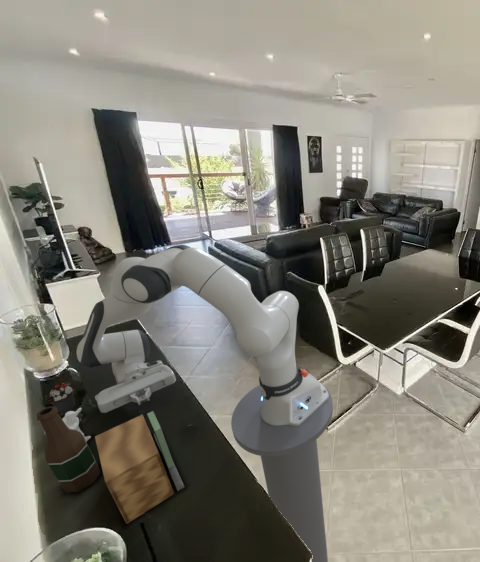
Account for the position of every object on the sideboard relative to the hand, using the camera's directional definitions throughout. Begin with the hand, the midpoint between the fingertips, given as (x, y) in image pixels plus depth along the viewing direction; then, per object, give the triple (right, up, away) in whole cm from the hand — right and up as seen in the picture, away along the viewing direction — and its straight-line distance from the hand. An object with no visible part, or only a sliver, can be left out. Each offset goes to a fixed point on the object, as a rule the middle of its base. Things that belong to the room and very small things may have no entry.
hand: (143, 401), depth 97 cm
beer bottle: (-7, -16, -13) cm, 22 cm away
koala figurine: (-17, -12, -4) cm, 21 cm away
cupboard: (+8, -15, -11) cm, 20 cm away
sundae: (-26, -8, +5) cm, 28 cm away
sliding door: (+12, -13, -8) cm, 19 cm away
